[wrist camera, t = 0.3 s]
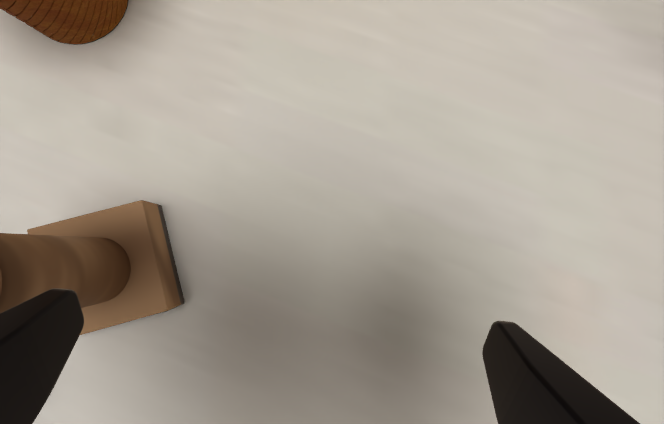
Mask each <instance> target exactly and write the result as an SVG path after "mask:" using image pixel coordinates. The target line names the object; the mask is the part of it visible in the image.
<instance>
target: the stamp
mask: <svg viewBox="0 0 664 424" xmlns="http://www.w3.org/2000/svg"><path fill="white" fill-rule="evenodd" d="M27 232H28V234H6V233H0V313H2V312H4V311H6V310H8V309H10V308H12V307H15V306H17V305H19V304H21V303H23V302H25V301H27V300H29V299H31V298H33V297H35V296H37V295H39V294H41V293H43V292H45V291H48V290H50V289H54V288H59V289H71V290H74V291H75V292H76V293H77V296H78V299H79V302H80V306H81V309H82V313H83V316H84V326H83V329H82V331H81V333H80V335H82V334H85V333H89V332H93V331H96V330H100V329H103V328H107V327H110V326H114V325H118V324H121V323H125V322H128V321H132V320H136V319H139V318H143V317H146V316H150V315H153V314H157V313H161V312H164V311H168V310H170V309H172V308H175V307H177V306H179V305H181V304H184V298H183V294H182V290H181V286H180V282H179V277H178V273H177V269H176V265H175V261H174V257H173V252H172V248H171V244H170V240H169V236H168V232H167V227H166V223H165V219H164V215H163V211H162V206H161V205H158V204H154V203H150V202H146V201H143V200H141V201H137V202H133V203H129V204H125V205H121V206H117V207H113V208H110V209H106V210H102V211H98V212H94V213H90V214H86V215H82V216H79V217H75V218H71V219H67V220H63V221H59V222H55V223H51V224H47V225H44V226H40V227H36V228H32V229H28V230H27Z"/></svg>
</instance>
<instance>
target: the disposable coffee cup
mask: <svg viewBox="0 0 664 424" xmlns="http://www.w3.org/2000/svg"><path fill="white" fill-rule="evenodd" d="M127 3H128V0H0V9H2V10H4V11H5V10H6V12H7V13H9V14H11V15H12V16H14V17H15V16H16V18H17V19H19V20H21V21H23V22H25V23H26V24H27V25H29V26H31V27H34V29H36V30H38V31H39V32H41V33H43V34H44V35H46V36H47V37H49V38H51V39H53V40H56V41H58V42H62V43H69V44H83V43H87V42H92V41H94V40H97V39H99V38H101V37H103V36H105V35H106V34H108V33H109V32H111V31H112V30H113V29H114V28H115V27H116V26H117V25H118V23H119V22H120V20H121V19H122V17H123V15H124V13H125V10H126V8H127Z"/></svg>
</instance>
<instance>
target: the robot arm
mask: <svg viewBox="0 0 664 424" xmlns="http://www.w3.org/2000/svg"><path fill="white" fill-rule="evenodd" d="M83 326H84V316H83V313H82V309H81V306H80V302H79V299H78V296H77V293H76V292H75V291H74V290H71V289H59V288H54V289H50V290H48V291H45V292H43V293H41V294H39V295H37V296H35V297H33V298H31V299H29V300H27V301H25V302H23V303H21V304H19V305H17V306H15V307H12V308H10V309H8V310H6V311H4V312H2V313H0V424H32V423H33V422H34V420H35V419H36V417H37V415H38V414H39V412H40V411H41V409H42V407H43V405H44V404H45V402H46V400H47V399H48V397H49V395H50V393H51V391H52V389H53V388H54V386H55V384H56V382H57V380H58V378H59V376H60V374H61V372H62V370H63V368H64V366H65V364H66V362H67V360H68V358H69V356H70V354H71V351H72V349H73V347H74V345H75V343H76V341H77V339H78V337H79V335H80V333H81V331H82V329H83ZM483 360H484V364H485V369H486V373H487V378H488V382H489V386H490V391H491V395H492V400H493V404H494V408H495V413H496V417H497V421H498V424H640V423H638V422H637V421H636V420H635V419H633V418H632V417H631V416H630V415H629V414H627V413H626V412H625V411H624V410H622V409H621V408H620V407H619V406H617V405H616V404H615V403H614V402H612V401H611V400H610V399H609V398H607V397H606V396H605V395H604V394H603V393H601V392H600V391H599V390H598V389H596V388H595V387H594V386H593V385H591V384H590V383H589V382H588V381H586V380H585V379H584V378H583V377H581V376H580V375H579V374H578V373H576V372H575V371H574V370H573V369H572V368H570V367H569V366H568V365H567V364H565V363H564V362H563V361H562V360H560V359H559V358H558V357H557V356H555V355H554V354H553V353H552V352H550V351H549V350H548V349H547V348H546V347H544V346H543V345H542V344H541V343H539V342H538V341H537V340H536V339H534V338H533V337H532V336H531V335H529V334H528V333H527V332H526V331H524V330H523V329H522V328H521V327H519V326H518V325H517V324H515V323H513V322H505V321H496V322H494V323H493V324H492V326H491V329H490V331H489V334H488V336H487V339H486V341H485V344H484V346H483Z"/></svg>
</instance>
